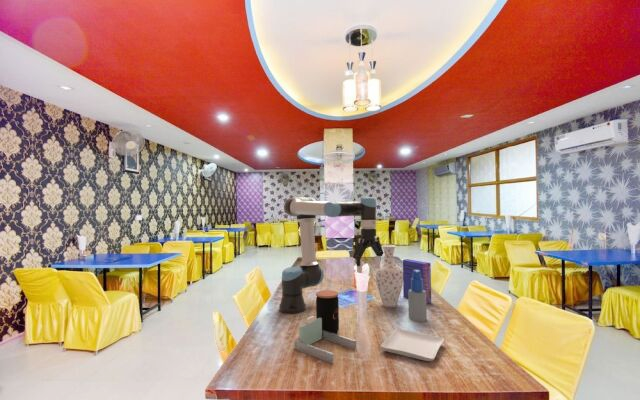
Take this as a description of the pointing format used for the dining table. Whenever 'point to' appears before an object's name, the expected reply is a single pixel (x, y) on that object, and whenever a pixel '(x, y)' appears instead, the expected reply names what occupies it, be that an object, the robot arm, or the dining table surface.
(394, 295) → the vase
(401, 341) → the salad plate
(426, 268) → the cereal box
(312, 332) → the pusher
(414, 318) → the spray bottle
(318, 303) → the coffee jar
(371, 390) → the dining table surface
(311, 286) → the robot arm
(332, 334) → the open-ended rimmed tray
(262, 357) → the dining table surface
